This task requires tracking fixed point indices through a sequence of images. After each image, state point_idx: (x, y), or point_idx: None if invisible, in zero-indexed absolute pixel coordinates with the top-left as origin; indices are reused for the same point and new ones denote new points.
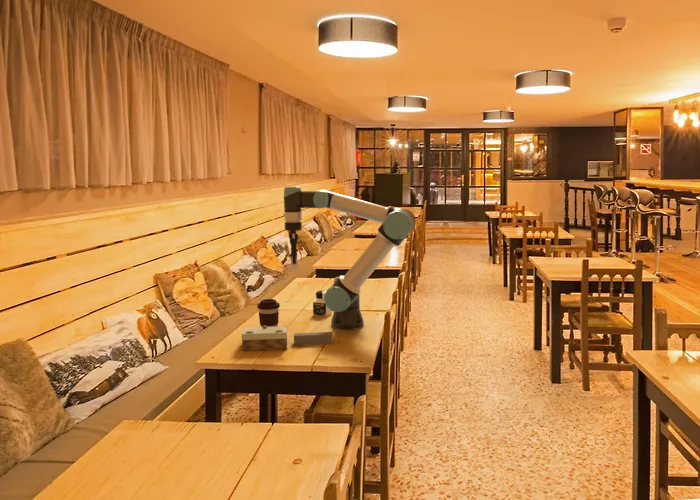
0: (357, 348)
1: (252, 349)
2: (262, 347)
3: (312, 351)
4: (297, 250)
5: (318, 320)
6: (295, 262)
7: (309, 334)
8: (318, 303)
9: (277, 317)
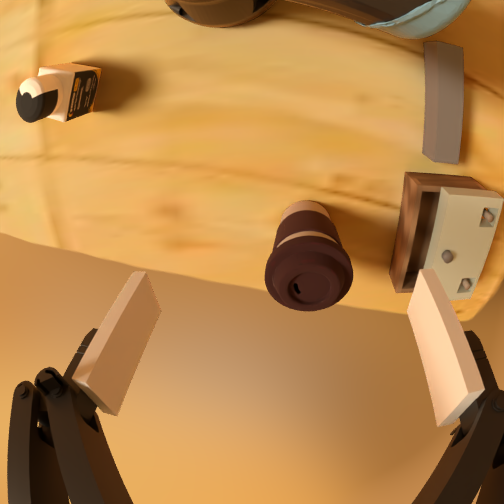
0: (487, 3)
1: None
2: None
3: (499, 117)
4: (52, 383)
5: (147, 81)
6: (478, 344)
7: (455, 115)
8: (70, 100)
9: (322, 223)
